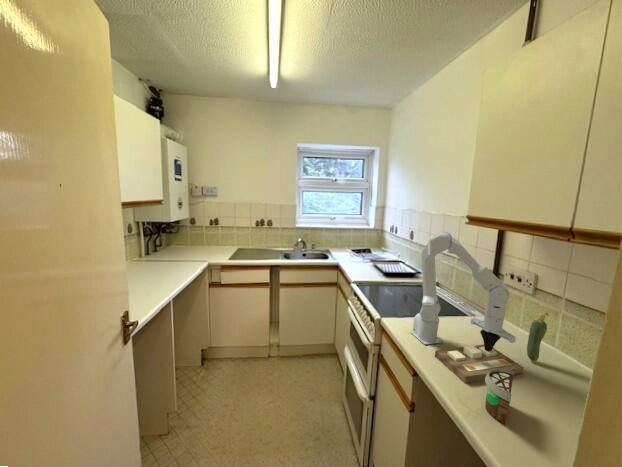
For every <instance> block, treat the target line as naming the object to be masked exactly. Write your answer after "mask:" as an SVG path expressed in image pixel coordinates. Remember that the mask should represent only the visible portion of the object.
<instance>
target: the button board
mask: <svg viewBox="0 0 622 467" xmlns="http://www.w3.org/2000/svg"><path fill="white" fill-rule="evenodd" d="M473 346H474V347H476V348H477V349H479V347H484V344H478V345H477V344H476V345H473ZM464 347H465V346H461V347H454V348H453V347H452V348H445V349H437V350H434V351H435V352H434V357H435V358H436V359H437V360H438V361H439V362H440V361H441V362H442V363H441V362H440V363H441V364H442V365H443V366H444V367H446V368H447V369H448V370H449V371H450V372H452V373H453V374H454V375H455V376H456V377H457V378H458V379H459V380H461V381H462V382H463V383H464V384H470V383H475V382H476V383H477V382H481V381H485V378H486V376H487V374H488V372H489V371H490V370H492V369H505V370H509V371H512V372H514V376H517V375H523V372H524V370H525V369H524V368H525V367H523V366H522V365H521V364H520V363H518V362H516V361H514V360H513V359H512V358H510V357H508V356H507V355H506V354H503V352H501V351H499V350H498V349H496V348H495V347H493V349H492V350H494V351H495V352H497V356H491V357H488V356H486V355H485V354H483V353H482V357H481V358H477V359H472V358H470V357H469V356H468V355H466V354H465V353H464V352H463V351H464ZM456 350H457V351H458V352H460V353H461V354H462V355H464V356H465V357H466V359H465V360H462V361H455V360H454V359H452V358H451V357H450V356H449V355H447V353H448V351H456Z"/></svg>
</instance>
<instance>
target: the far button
mask: <svg viewBox="0 0 622 467" xmlns="http://www.w3.org/2000/svg"><path fill="white" fill-rule="evenodd" d="M479 350H480V351H481V352H482V353H483V354H485V355H486V356H488V357H491V356H497V352H495V351H494V350H492V351H489V352H488V351H486V350H485V347H479Z"/></svg>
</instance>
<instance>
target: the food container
mask: <svg viewBox="0 0 622 467" xmlns="http://www.w3.org/2000/svg"><path fill="white" fill-rule="evenodd" d="M514 376H515V375H514V372H512V371H509V370H505V369H492V370H490V371H489V372H488V374H487V376H486V378H485V380H484V383H485V385H486V394H485V395H486V396H485V406H484V407H485V409H486V411H487V412H486V413H488V414H489V416H490V417H491V418H493V419H494V421H497V423H499V424H501V425H502V426H506V424H507V418H508V413H509V408H510V404H511V399H512V388H513V387H512V386H513V380H514Z"/></svg>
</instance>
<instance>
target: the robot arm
mask: <svg viewBox="0 0 622 467" xmlns="http://www.w3.org/2000/svg"><path fill="white" fill-rule="evenodd" d="M446 250H447V252H446V253H448V254H453V255H456V257H458V258H459V259H460V260H461V261H462V262H463V263H464V265H466V266H467V267H468V268H469V269H470V270H471V276H472V277H473V279H474V280H475V281H476V282H477V283H478V284H479V285H480V286H481V287H482V288H483V289H484V290H485V291H487V292H488V299H487V301H486V305H485V306H486V307H485V312H484V318H483V320H481V319H478V318H476V317H473V318H471V319H470V324H471V325H475V326H477V327H480V328H481V330H480V331H479V333H480V335H481V338H482V339H483V345H484V347H485V350H486V351H488V352H489V351H492V349H493V348H495V345H496V343H498V341H499V340H500V339H502V338H503V339H504V340H506V341H508V342H509V343H511V344H514V343H516V339H517V336H515V335H513V334H512V333H510V332H508V331H507V330H505V329H504V328H503V327H504V322H505V315H506V310H507V303H508V300H510V298H511V296H510V292H509V291H510V290H509V288H508V286H507V285H506V283H505V282H504V281H503V280H502V279H501V278H500V279H499V278H498V277H497V276H496V275H495V274H494V273H493V269H492V268H491V267H487V265H481V264H479V262H477V260H476V259H475V258H474V257H473V256H472V255H471V254H470V253H469V251H468V250H467V249H466V248H465V247H464V246H463V245H462V244H461V243H460V242H459V241H458V240H457V238H455V237H453V236H452V234H451V233H449V232H447V231H441V232H438V233H437V234H435V235H434V236H433V237H431V238H430V239H429V240H428V242H427V244H426V245H425V246H424V248H423V249H422V250H421V252H420V253H421V272H422V294H423V295H422V296H423V297H422V301H421V304H422V305H421V308H420V310H419V313H417V314H416V315H415V316H414V318H413V321H412V322H413V323H412V331H411V330H410V334H412V335H413V336H414V337H415V338H416V339H417V340H418V341H420V342H421V343H422V344H423V345H433V344H441V343H442V341H441V340H440V339H439V338H438V337H437V336H438V331H439V325H440V324H439V323H440V318H439V316H438V315H439V313H440V312H441V304H440V303H439V297H438V296H437V279H436V278H437V275H436V274H437V273H436V256H438V254H440V253H442V252H445V251H446Z"/></svg>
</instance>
